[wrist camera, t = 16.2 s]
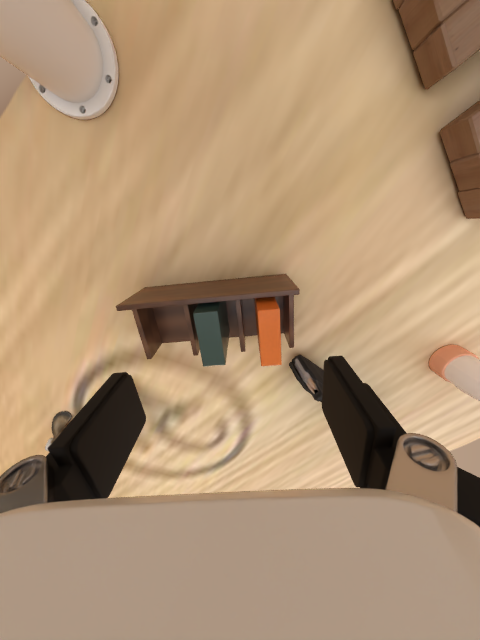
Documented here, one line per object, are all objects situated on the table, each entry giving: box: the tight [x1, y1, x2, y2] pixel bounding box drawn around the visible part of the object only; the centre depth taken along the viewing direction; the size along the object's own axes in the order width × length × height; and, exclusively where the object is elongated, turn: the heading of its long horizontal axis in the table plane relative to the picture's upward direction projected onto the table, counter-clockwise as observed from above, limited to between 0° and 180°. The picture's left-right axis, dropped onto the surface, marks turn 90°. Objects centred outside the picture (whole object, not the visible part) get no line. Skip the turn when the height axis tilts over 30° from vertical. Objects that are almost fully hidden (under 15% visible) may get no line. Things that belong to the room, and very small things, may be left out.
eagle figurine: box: [45, 411, 72, 451], centre depth 55 cm, size 8×7×9 cm
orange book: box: [254, 297, 281, 366], centre depth 38 cm, size 9×3×13 cm, turn 6°
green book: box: [193, 301, 230, 367], centre depth 39 cm, size 9×4×12 cm, turn 6°
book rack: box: [116, 274, 299, 359], centre depth 40 cm, size 12×27×11 cm, turn 96°
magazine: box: [289, 355, 324, 402], centre depth 48 cm, size 17×3×30 cm
